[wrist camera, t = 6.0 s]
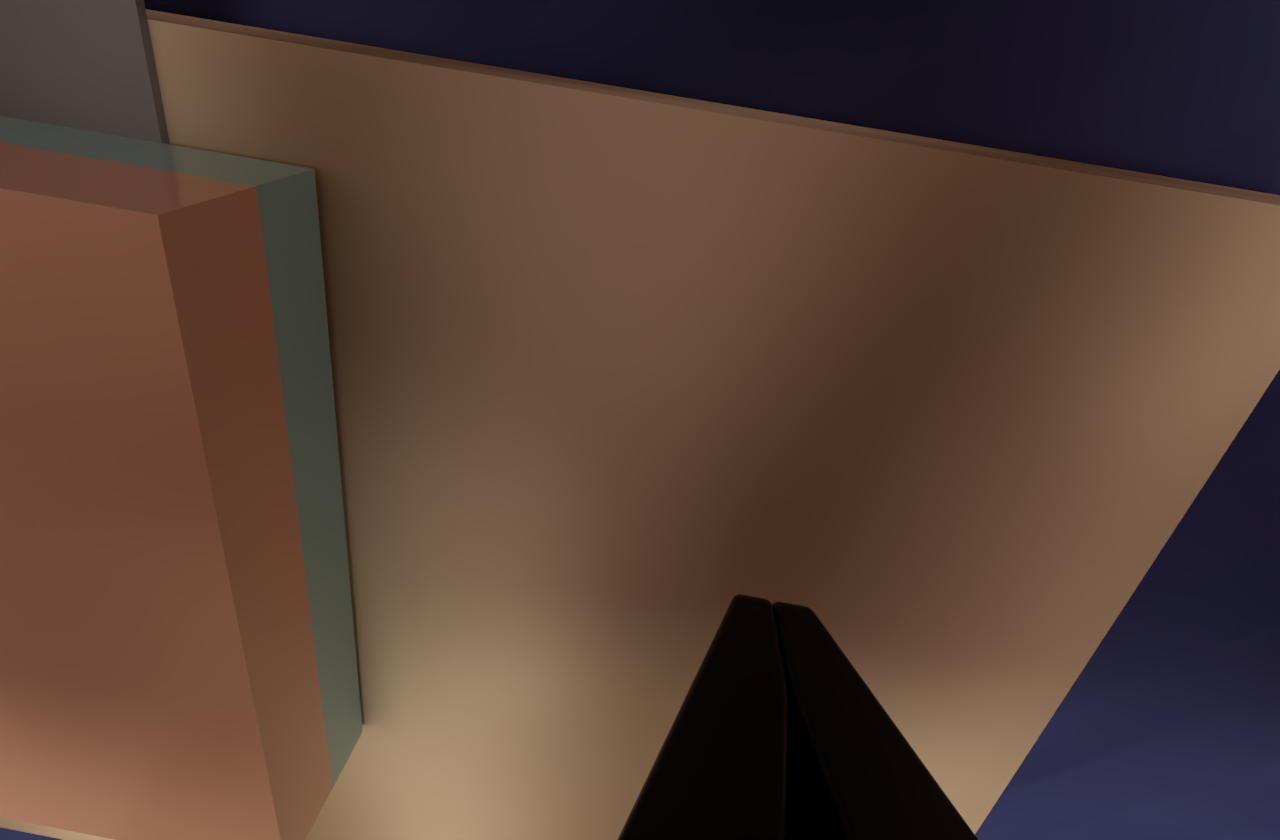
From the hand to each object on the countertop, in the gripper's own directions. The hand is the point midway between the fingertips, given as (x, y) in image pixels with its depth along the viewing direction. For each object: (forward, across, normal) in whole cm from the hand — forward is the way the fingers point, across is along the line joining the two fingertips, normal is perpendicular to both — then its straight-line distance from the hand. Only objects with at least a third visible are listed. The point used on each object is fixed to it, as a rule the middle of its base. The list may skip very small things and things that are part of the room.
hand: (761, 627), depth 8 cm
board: (+2, +6, +2) cm, 7 cm away
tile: (0, +5, 0) cm, 5 cm away
